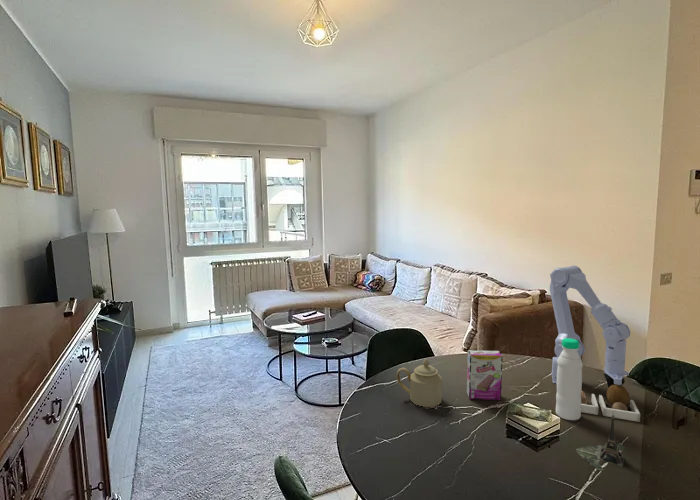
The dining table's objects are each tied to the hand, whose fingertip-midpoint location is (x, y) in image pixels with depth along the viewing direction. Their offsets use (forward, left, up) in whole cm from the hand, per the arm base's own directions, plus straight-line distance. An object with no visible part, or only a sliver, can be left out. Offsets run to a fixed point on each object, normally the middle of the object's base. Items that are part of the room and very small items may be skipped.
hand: (613, 396), depth 138 cm
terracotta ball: (-11, -6, -1) cm, 12 cm away
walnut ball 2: (0, -11, -1) cm, 11 cm away
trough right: (0, -9, -1) cm, 9 cm away
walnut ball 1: (-11, -11, -1) cm, 15 cm away
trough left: (-11, -9, -1) cm, 14 cm away
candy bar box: (-41, -15, -1) cm, 44 cm away
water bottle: (-15, -18, -1) cm, 24 cm away
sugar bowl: (-61, -26, -1) cm, 66 cm away
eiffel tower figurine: (-6, -38, -2) cm, 38 cm away
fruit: (0, -7, -1) cm, 7 cm away
